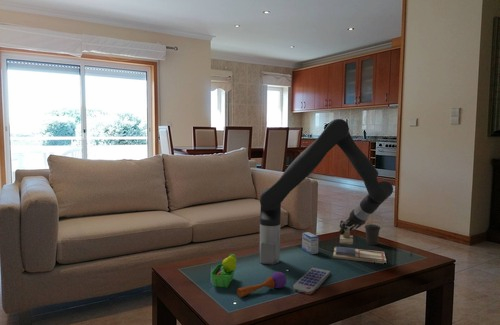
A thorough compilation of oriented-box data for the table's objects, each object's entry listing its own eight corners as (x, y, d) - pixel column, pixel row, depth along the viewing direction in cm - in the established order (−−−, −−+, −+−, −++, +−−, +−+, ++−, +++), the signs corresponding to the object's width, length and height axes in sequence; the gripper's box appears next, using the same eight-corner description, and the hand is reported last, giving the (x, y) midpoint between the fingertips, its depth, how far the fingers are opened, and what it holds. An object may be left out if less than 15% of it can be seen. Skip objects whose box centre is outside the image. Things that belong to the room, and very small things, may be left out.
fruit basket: (218, 275, 144) (218, 248, 143) (239, 277, 143) (239, 250, 142) (210, 287, 133) (210, 258, 132) (233, 289, 132) (233, 260, 131)
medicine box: (301, 249, 178) (302, 232, 177) (309, 248, 180) (309, 231, 179) (310, 254, 171) (311, 237, 170) (318, 253, 173) (318, 235, 172)
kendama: (234, 283, 128) (279, 268, 138) (236, 299, 128) (281, 284, 138) (241, 286, 123) (288, 271, 133) (244, 303, 123) (290, 287, 133)
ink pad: (355, 256, 166) (355, 254, 166) (335, 254, 168) (335, 251, 168) (355, 250, 174) (355, 248, 174) (336, 248, 177) (336, 246, 177)
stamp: (352, 245, 167) (353, 227, 166) (339, 243, 169) (340, 226, 168) (352, 241, 173) (353, 224, 172) (340, 240, 175) (340, 223, 174)
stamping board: (386, 263, 160) (386, 261, 160) (332, 258, 166) (333, 255, 166) (384, 253, 173) (384, 251, 173) (334, 248, 180) (334, 246, 180)
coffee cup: (364, 245, 186) (365, 226, 185) (363, 240, 194) (364, 222, 193) (380, 246, 184) (381, 227, 183) (379, 242, 192) (379, 223, 191)
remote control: (330, 275, 147) (330, 270, 147) (311, 296, 128) (311, 290, 128) (312, 271, 151) (312, 266, 151) (290, 291, 132) (291, 285, 131)
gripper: (369, 204, 165) (351, 224, 177) (345, 207, 160) (328, 227, 172) (377, 218, 161) (358, 237, 173) (353, 221, 155) (335, 240, 167)
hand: (343, 232), depth 172 cm, fingers closed on stamp, 3 cm apart
